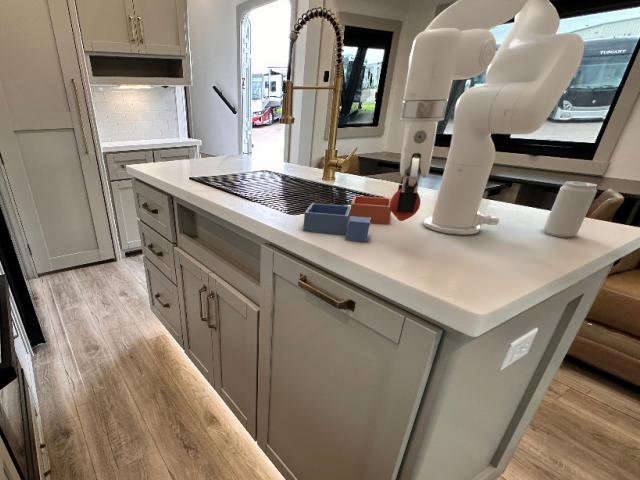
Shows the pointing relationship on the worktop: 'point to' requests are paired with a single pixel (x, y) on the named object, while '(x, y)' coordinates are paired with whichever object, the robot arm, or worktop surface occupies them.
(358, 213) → the terracotta bin
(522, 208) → the worktop surface
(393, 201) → the onion
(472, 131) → the robot arm
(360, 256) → the worktop surface
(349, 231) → the blue block
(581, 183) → the beverage can
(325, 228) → the blue bin
